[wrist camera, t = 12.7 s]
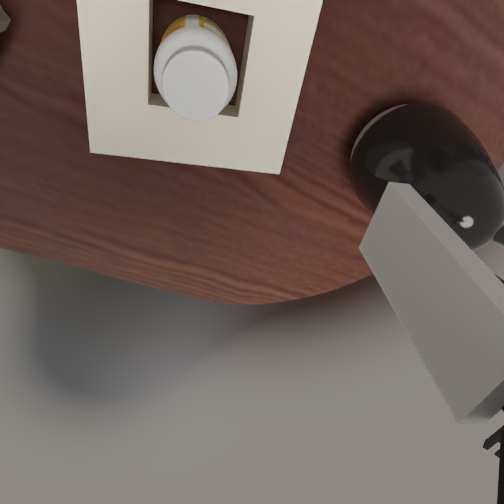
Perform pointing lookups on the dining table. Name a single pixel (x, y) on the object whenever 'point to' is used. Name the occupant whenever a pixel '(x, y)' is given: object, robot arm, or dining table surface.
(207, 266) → the dining table surface
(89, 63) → the socket holder
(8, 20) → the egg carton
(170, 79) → the supplement bottle
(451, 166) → the pump dispenser
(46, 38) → the dining table surface
